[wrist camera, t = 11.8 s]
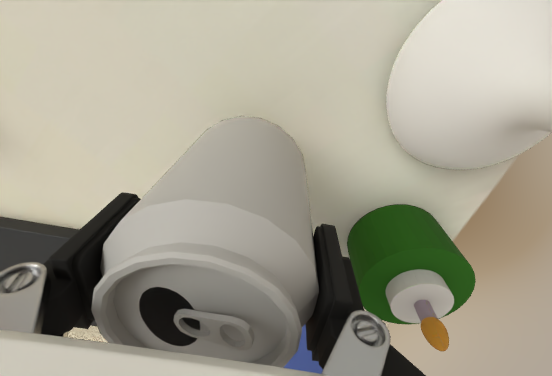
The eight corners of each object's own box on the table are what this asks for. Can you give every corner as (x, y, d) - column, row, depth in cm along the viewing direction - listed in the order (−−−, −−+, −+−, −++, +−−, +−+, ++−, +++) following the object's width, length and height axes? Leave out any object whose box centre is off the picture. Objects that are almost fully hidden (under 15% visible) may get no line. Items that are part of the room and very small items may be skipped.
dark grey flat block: (19, 302, 34) (-5, 324, 31) (-26, 212, 27) (-60, 230, 24) (129, 320, 34) (115, 343, 31) (113, 235, 27) (93, 256, 24)
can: (184, 115, 17) (4, 241, 6) (304, 109, 16) (328, 235, 6) (206, 214, 20) (116, 400, 10) (305, 212, 20) (322, 406, 9)
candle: (355, 279, 28) (382, 390, 19) (339, 216, 24) (362, 317, 15) (441, 265, 26) (515, 379, 17) (438, 194, 22) (528, 294, 14)
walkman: (290, 325, 32) (287, 463, 22) (285, 310, 31) (279, 450, 20) (357, 319, 31) (388, 464, 20) (354, 304, 29) (386, 449, 19)
